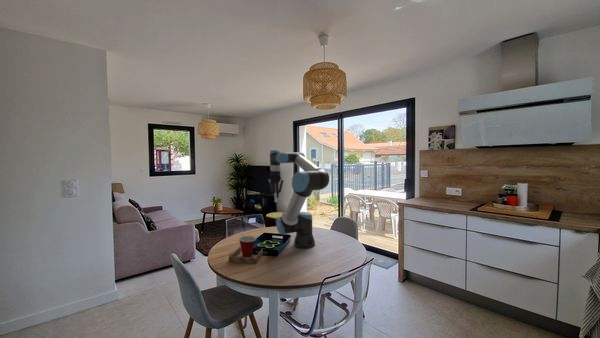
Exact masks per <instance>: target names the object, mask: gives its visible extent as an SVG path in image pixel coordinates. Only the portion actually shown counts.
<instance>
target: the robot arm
mask: <svg viewBox="0 0 600 338" xmlns="http://www.w3.org/2000/svg"><path fill="white" fill-rule="evenodd" d="M281 164H296V165H297V166H298V168H300V169H301V170H302V171H297V172H295V173H294V174H293V176H292V179H291V187H292V190H293V194H292V196H291V198H290V201H289V203H288V205H287V207H286V210H285V211H284V212H282V214H281V216H278V217H276V219H275V225H276V230H277V232H278V233H279V234H280V235H289V234H291V233H295V237H294V240H293V245H294V247H296V248H299V249H310V248H313V247H314V246H315V245H316V241H315V237H314V235H313V234H314V233H313V215H312V213H310V212H308V211H307V212H305V211H302V209H303V206H304V205H305V202H306V200H307V198H308V197H310V196H311V195H312V193H313V192H314V191H322V190H324V189H325V188H327V187H328V185H329V183H330V174H329V173H328V171H327V170H325V169H324V168H322V167H318V166H317V165H316V164H314V163H313V162H311V161H310V160H309V159H308V158H306V156H305V154H304V153H303V152H297V151H296V152H283V151H282V152H281V151H280V150H279V149H277V150H276V149H274V150H270V151H269V167H270V168H269V170H270V171H269V174H270V175H269V176H270V177H269V179H267V180H266V181H267V182H266V183H268V187H269V191H270V193H272V198H274V203H277V202H278V198H279V194H280V193H281V192H282V189H283V185H284V184H283V183H284V182H285V180H284V179H282V177H281ZM279 182H280V184H279Z"/></svg>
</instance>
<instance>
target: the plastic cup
mask: <svg viewBox="0 0 600 338" xmlns="http://www.w3.org/2000/svg"><path fill="white" fill-rule="evenodd" d="M256 240H257V238H256V237H255V236H250V235H245V236H240V237H238V241H239V244H240V247H241V253H242V257H249V258H253V257H252V256H253V251H254V247H255V243H256Z"/></svg>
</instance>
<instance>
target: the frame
mask: <svg viewBox="0 0 600 338" xmlns="http://www.w3.org/2000/svg"><path fill="white" fill-rule="evenodd" d="M240 253H242V251H241V246H239V247H238V248H237V249H236V250H235V252H234V253H233V254H232V255H229V256H228V262H229V263H243V264H257V263H258V261H259V260H260V259H261V258H262V256H263V255H264V254H263V249H261V250H259V252H258V253H257V254H256V256H255V257H250V258H249V257H243V256H238V255H240Z"/></svg>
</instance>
